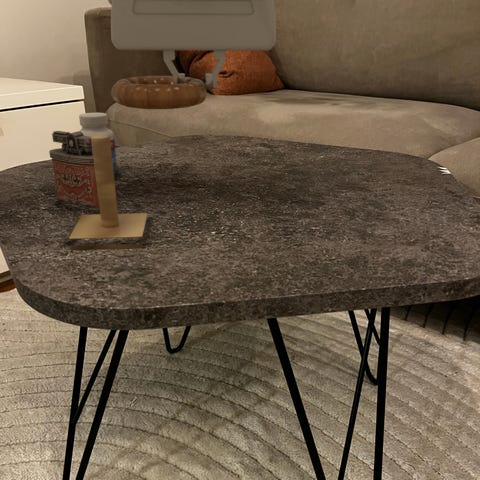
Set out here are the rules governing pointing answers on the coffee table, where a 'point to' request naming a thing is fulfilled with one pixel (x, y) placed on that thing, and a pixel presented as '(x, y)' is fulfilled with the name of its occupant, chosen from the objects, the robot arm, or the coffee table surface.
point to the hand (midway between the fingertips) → (195, 89)
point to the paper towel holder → (107, 206)
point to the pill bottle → (98, 130)
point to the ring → (158, 92)
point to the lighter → (74, 168)
